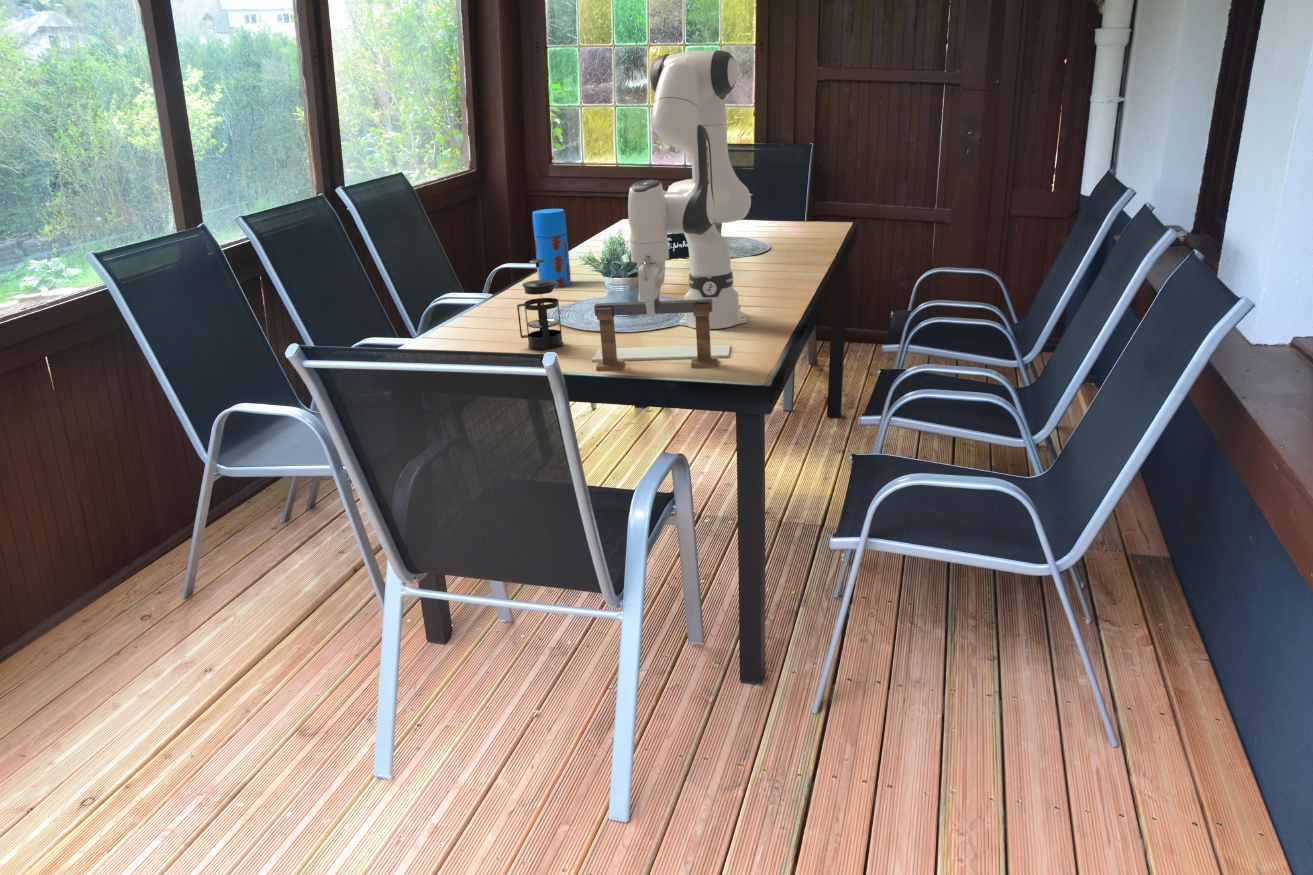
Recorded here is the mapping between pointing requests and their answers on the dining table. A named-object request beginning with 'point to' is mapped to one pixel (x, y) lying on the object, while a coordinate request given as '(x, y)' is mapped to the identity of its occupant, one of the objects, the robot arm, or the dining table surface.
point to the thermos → (552, 246)
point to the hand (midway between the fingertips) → (653, 310)
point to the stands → (613, 363)
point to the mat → (663, 353)
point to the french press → (541, 314)
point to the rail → (660, 307)
